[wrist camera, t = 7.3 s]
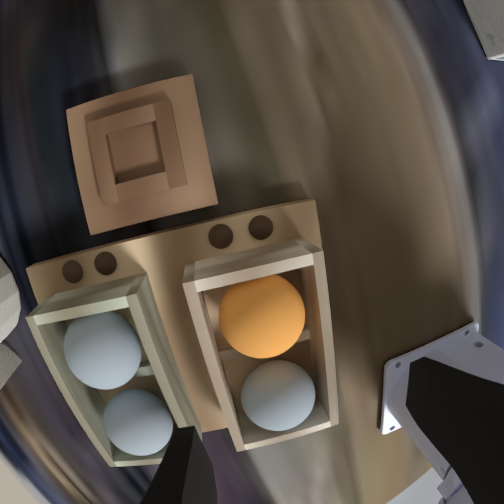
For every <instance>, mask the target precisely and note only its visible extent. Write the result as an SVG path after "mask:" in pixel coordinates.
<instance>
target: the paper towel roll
mask: <svg viewBox="0 0 504 504" xmlns="http://www.w3.org/2000/svg"><path fill="white" fill-rule="evenodd" d="M20 309H21V304H20V296H19V289H18V287H17V284H16V282H15V279H14V277H13V274H12V272H11V270H10V269H9V268H8V266H7V265H6V264H5V262H4V261H3V259H2V258H1V257H0V389H1V388H2V387H3V385H4V384H5V383H6V381H7V380H8V379H9V377H10V376H11V375H12V374H13V372H14V371H15V370H16V368H17V367H18V366H19V364H20V363H21V362H22V361H21V360H20V358H19V357H18V356H17V355H16V354H15V353H14V352H12V351H11V350H10V349H9V348H7V347H6V346H5V345H3V344H2V343H1V342H2V341H3V340H4V339H5V338H6V337H7V336H8V335H9V334H10V332H11V331H12V330H13V329H14V327H15V326H16V325H17V323H18V319H19V314H20Z"/></svg>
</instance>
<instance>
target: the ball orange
mask: <svg viewBox="0 0 504 504" xmlns="http://www.w3.org/2000/svg"><path fill="white" fill-rule="evenodd" d="M304 323H305V308H304V303H303V300H302V298H301V296H300V294H299V292H298V291H297V290H296V288H295V287H294V286H293V285H292V284H291V283H290V282H288V281H287V280H286V279H284V278H282V277H280V276H278V275H275V274H273V275H269V276H265V277H261V278H256V279H252V280H248V281H244V282H239V283H235V284H232V285H231V286H230V287H229V288H228V290H227V291H226V292H225V294H224V296H223V298H222V301H221V303H220V307H219V324H220V328H221V330H222V333H223V335H224V337H225V339H226V340H227V341H228V343H229V344H230V345H231V346H232V347H233V348H234V349H236V350H237V351H238V352H240V353H242V354H244V355H247V356H250V357H254V358H270V357H274V356H277V355H279V354H282V353H283V352H285V351H287V350H288V349H289V348H291V347H292V346H293V345H294V344H295V342H296V341H297V340H298V338H299V337H300V335H301V333H302V330H303V327H304Z"/></svg>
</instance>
